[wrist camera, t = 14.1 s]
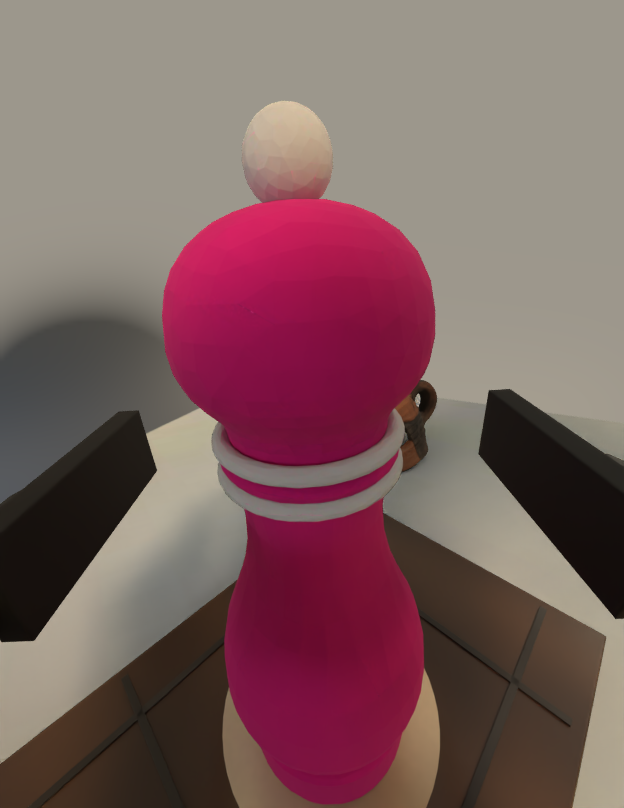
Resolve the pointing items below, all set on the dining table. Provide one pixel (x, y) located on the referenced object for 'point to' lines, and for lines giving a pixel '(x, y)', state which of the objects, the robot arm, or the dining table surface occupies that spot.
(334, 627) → the pepper mill
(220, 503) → the dining table surface
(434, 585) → the board
